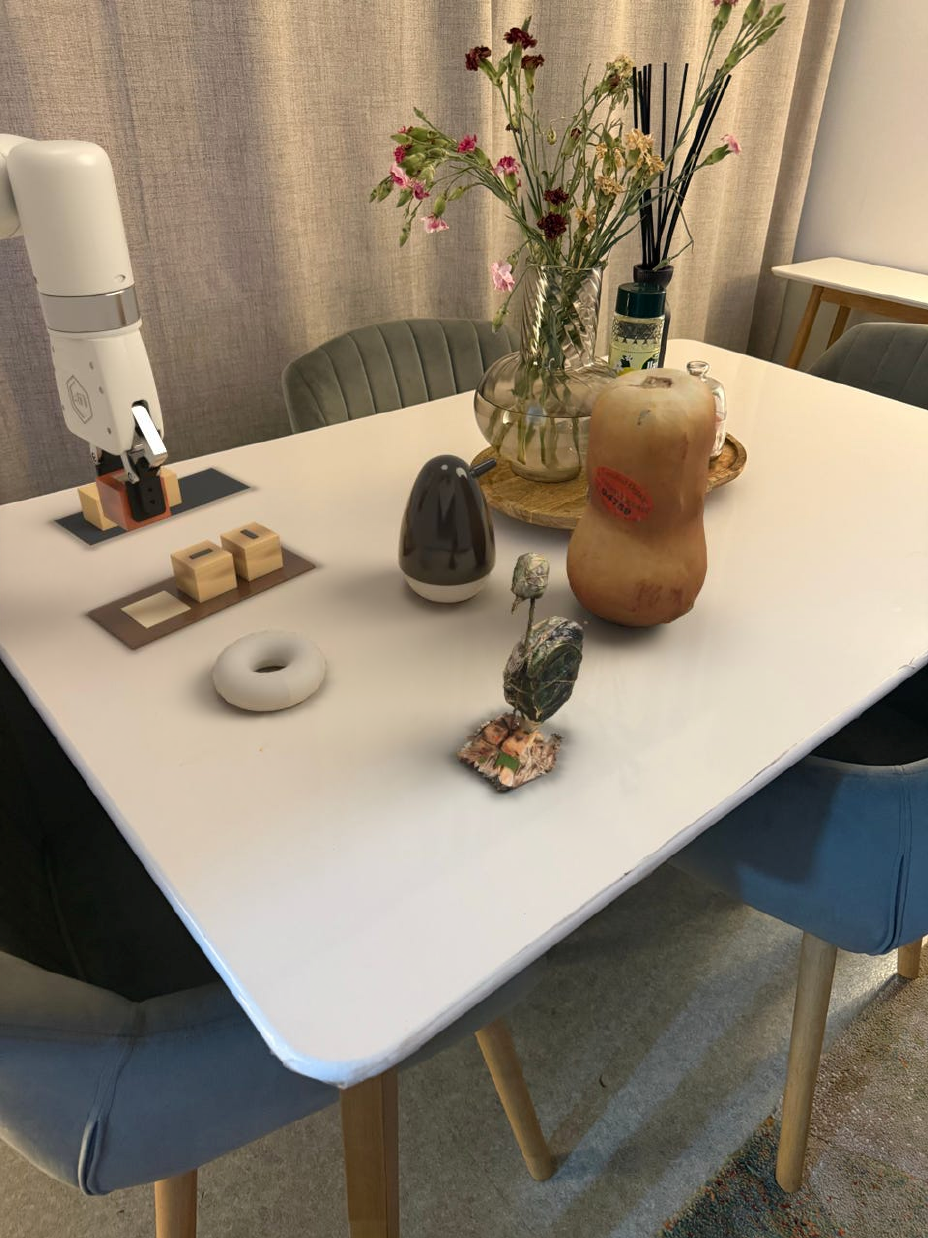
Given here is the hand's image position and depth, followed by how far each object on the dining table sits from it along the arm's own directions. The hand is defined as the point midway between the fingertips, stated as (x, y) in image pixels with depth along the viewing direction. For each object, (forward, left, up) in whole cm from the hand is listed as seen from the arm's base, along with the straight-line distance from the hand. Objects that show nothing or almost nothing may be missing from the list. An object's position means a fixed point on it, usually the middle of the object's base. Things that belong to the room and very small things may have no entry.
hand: (135, 506), depth 84 cm
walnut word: (0, +6, -12) cm, 14 cm away
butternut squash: (+35, +33, -12) cm, 50 cm away
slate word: (-22, +13, -12) cm, 28 cm away
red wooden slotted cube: (0, 0, -1) cm, 1 cm away
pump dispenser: (+18, +24, -12) cm, 32 cm away
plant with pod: (+40, +10, -12) cm, 43 cm away
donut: (+18, +1, -12) cm, 22 cm away
